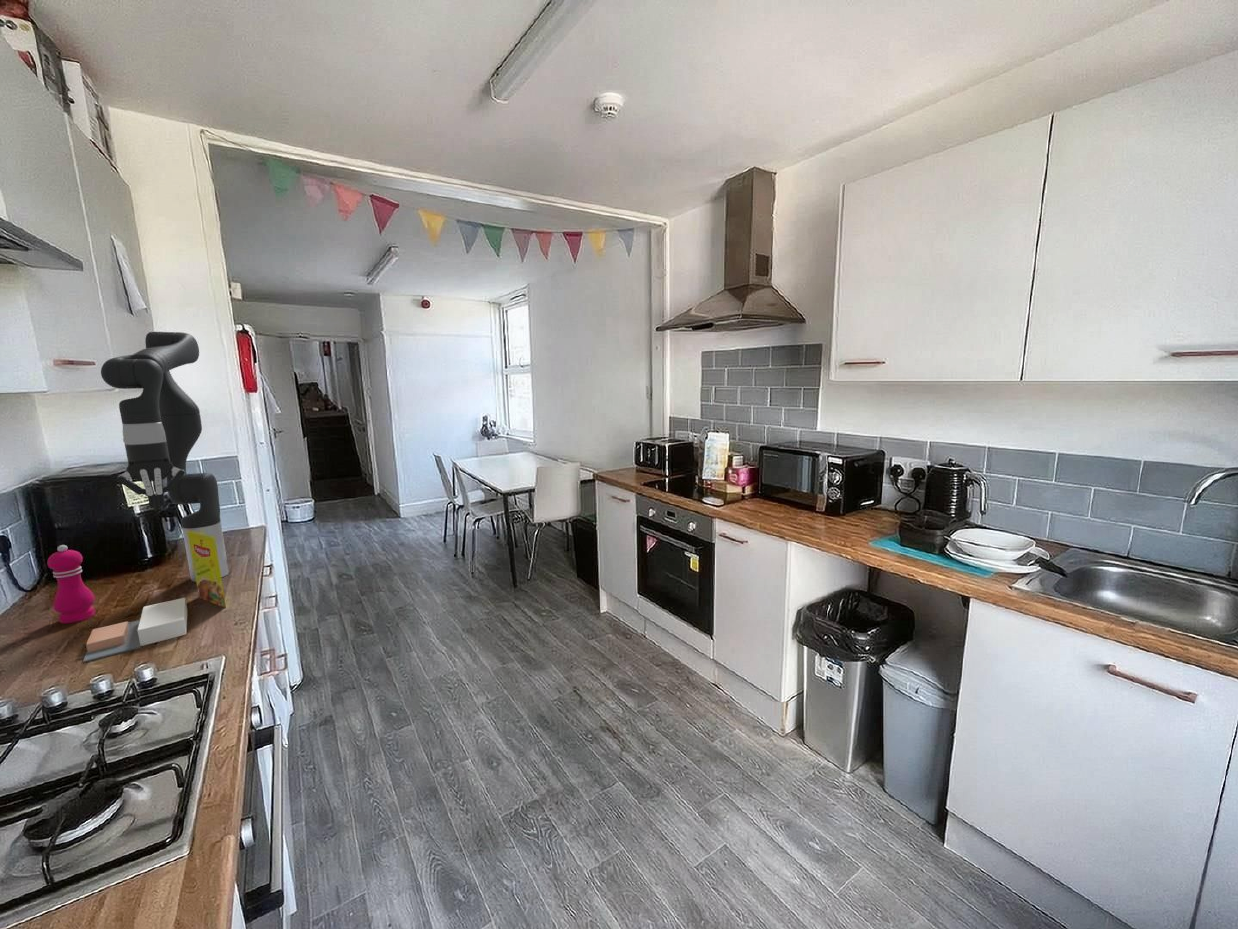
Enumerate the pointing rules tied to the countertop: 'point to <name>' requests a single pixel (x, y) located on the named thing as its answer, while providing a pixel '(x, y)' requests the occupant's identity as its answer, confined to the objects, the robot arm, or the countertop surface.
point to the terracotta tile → (108, 636)
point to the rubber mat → (129, 645)
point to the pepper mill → (70, 586)
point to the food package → (206, 568)
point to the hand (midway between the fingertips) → (158, 508)
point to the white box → (163, 621)
